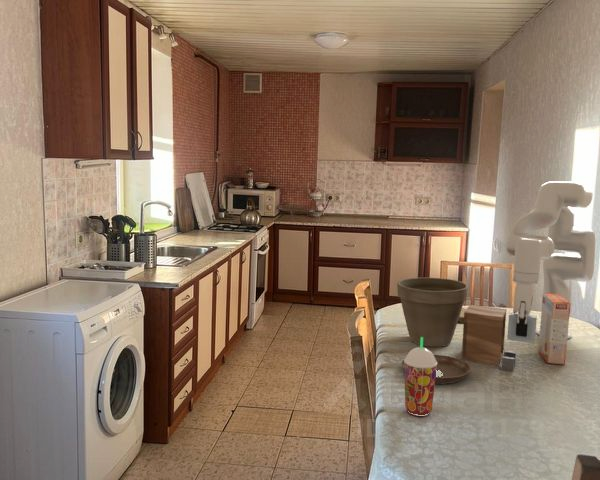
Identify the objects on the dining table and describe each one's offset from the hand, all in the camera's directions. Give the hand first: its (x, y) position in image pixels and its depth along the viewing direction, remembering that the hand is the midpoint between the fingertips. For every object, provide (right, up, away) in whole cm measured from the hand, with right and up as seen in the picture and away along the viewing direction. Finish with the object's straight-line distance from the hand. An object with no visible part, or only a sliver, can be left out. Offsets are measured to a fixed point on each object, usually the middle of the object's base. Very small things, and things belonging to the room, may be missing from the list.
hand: (521, 333), depth 178 cm
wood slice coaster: (-2, -4, +62) cm, 62 cm away
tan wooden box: (-8, -10, +12) cm, 18 cm away
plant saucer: (-29, -12, -5) cm, 31 cm away
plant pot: (-23, -8, +29) cm, 37 cm away
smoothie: (-40, -15, -33) cm, 53 cm away
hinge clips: (-3, -11, +3) cm, 12 cm away
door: (0, -2, 0) cm, 2 cm away
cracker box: (+15, -10, +13) cm, 22 cm away
